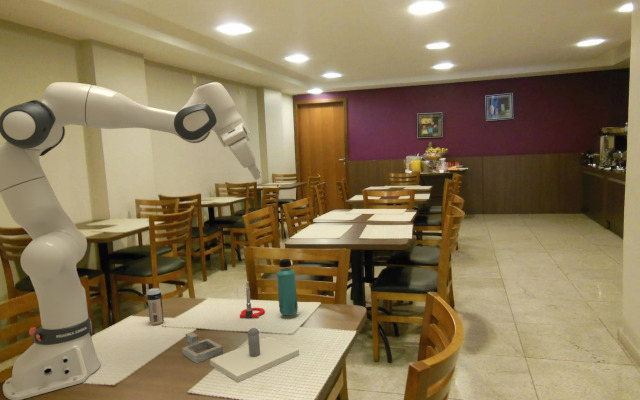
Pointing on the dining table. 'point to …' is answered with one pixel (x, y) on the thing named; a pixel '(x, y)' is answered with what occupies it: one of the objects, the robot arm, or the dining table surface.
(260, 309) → the tow hook
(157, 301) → the beer can
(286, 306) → the beverage bottle
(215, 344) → the steel link
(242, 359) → the board
